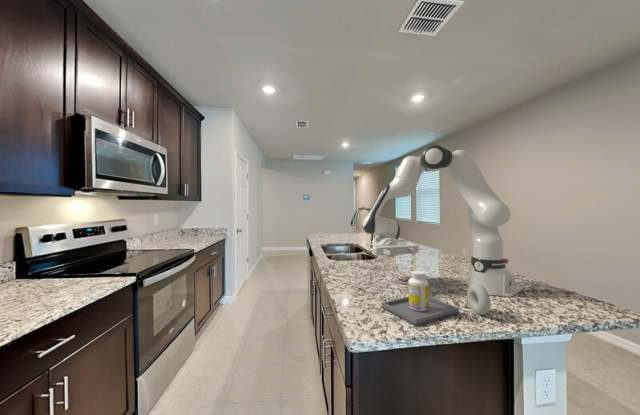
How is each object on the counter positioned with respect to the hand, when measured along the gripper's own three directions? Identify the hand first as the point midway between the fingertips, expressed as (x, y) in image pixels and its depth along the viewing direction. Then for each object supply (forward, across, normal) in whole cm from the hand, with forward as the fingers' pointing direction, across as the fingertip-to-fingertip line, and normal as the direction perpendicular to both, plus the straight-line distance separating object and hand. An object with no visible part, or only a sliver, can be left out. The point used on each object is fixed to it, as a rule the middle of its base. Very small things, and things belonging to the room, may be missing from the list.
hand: (401, 252), depth 105 cm
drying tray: (+16, -2, +18) cm, 24 cm away
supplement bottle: (+16, -2, +17) cm, 24 cm away
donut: (+21, +17, +19) cm, 33 cm away
